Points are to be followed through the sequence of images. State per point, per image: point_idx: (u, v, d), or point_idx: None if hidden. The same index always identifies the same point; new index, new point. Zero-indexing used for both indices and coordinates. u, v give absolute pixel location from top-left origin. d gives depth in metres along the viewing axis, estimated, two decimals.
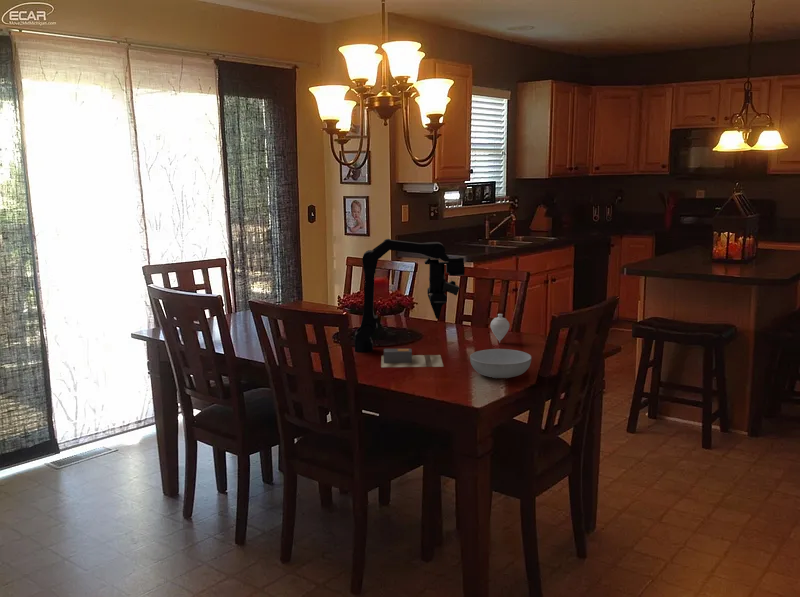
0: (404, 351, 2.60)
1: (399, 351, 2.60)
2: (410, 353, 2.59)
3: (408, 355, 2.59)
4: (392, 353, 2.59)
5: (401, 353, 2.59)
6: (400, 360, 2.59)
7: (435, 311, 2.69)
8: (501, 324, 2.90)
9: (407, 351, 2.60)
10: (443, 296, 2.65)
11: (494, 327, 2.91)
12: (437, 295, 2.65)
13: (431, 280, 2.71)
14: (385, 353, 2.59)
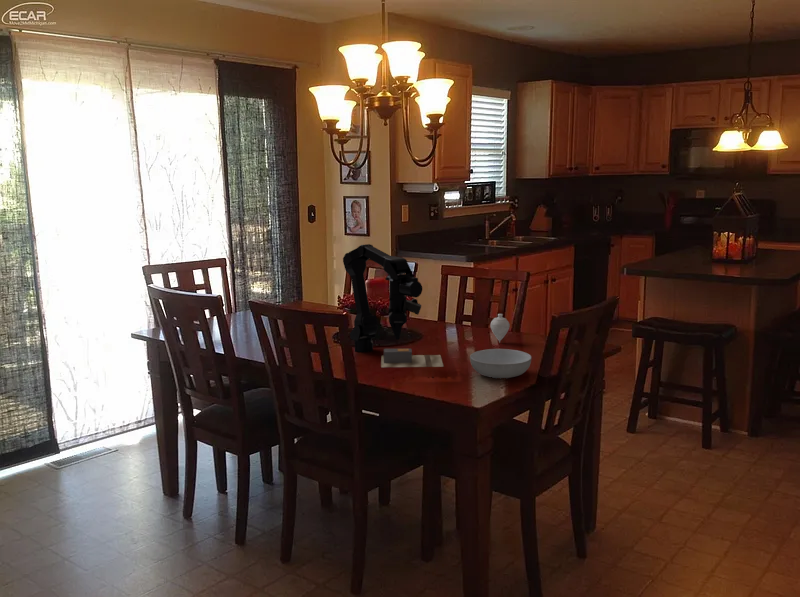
0: (404, 351, 2.60)
1: (399, 351, 2.60)
2: (410, 353, 2.59)
3: (408, 355, 2.59)
4: (392, 353, 2.59)
5: (401, 353, 2.59)
6: (400, 360, 2.59)
7: (395, 331, 2.54)
8: (501, 324, 2.90)
9: (407, 351, 2.60)
10: (403, 316, 2.50)
11: (494, 327, 2.91)
12: (396, 315, 2.50)
13: (391, 298, 2.56)
14: (385, 353, 2.59)
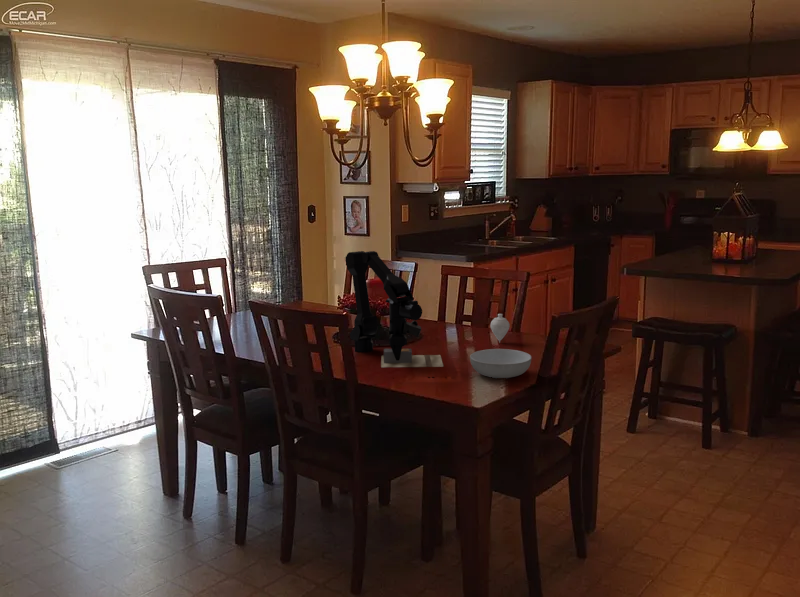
0: (404, 351, 2.60)
1: None
2: (410, 353, 2.59)
3: (408, 355, 2.59)
4: (392, 353, 2.59)
5: (401, 353, 2.59)
6: (400, 360, 2.59)
7: (395, 352, 2.58)
8: (501, 324, 2.90)
9: (407, 351, 2.60)
10: (403, 339, 2.51)
11: (494, 327, 2.91)
12: (396, 338, 2.51)
13: (391, 321, 2.57)
14: (385, 353, 2.59)
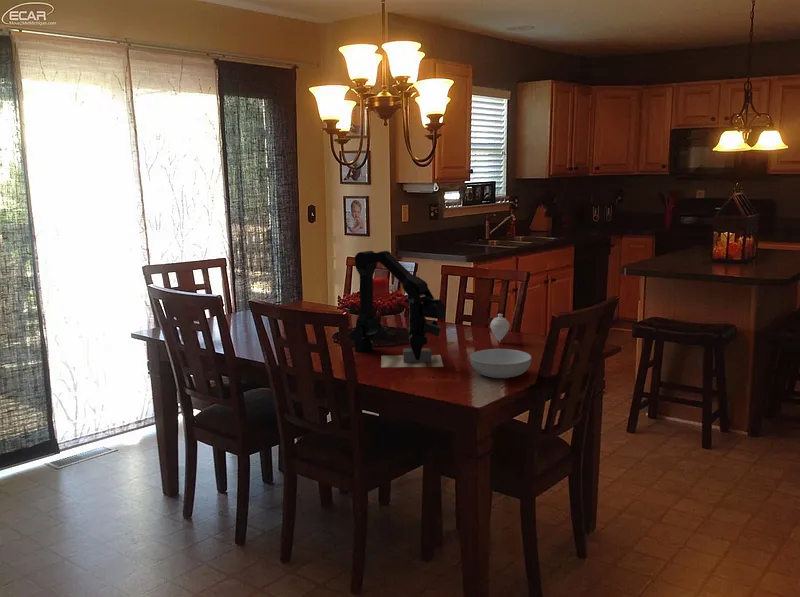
0: (424, 351, 2.60)
1: None
2: (430, 353, 2.59)
3: (428, 355, 2.59)
4: (412, 353, 2.59)
5: (421, 353, 2.59)
6: (420, 359, 2.59)
7: (415, 352, 2.58)
8: (501, 324, 2.90)
9: (427, 351, 2.60)
10: (423, 338, 2.51)
11: (494, 327, 2.91)
12: (417, 337, 2.51)
13: (411, 321, 2.57)
14: (405, 353, 2.59)
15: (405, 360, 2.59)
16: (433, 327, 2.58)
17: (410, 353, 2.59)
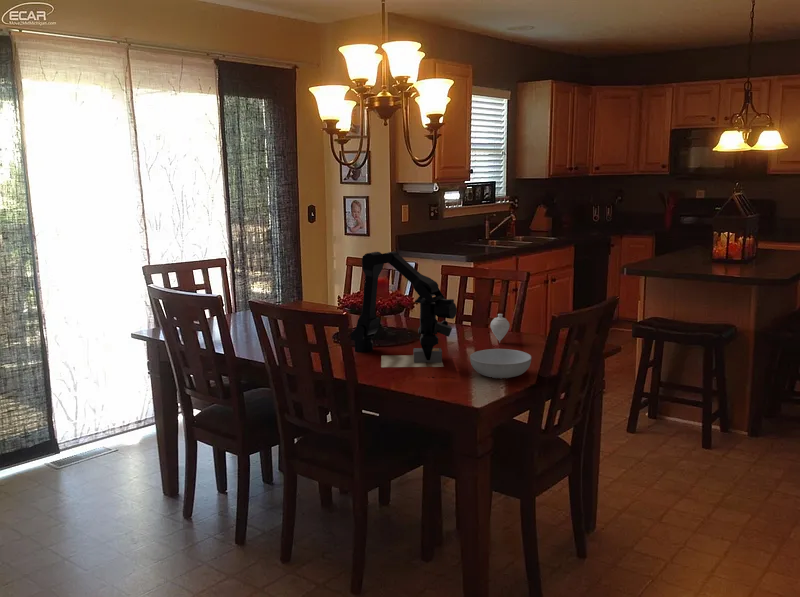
0: (434, 351, 2.60)
1: None
2: (440, 353, 2.59)
3: (438, 355, 2.59)
4: (422, 353, 2.59)
5: (431, 353, 2.59)
6: (430, 359, 2.60)
7: (426, 352, 2.58)
8: (501, 324, 2.90)
9: (437, 351, 2.60)
10: (434, 338, 2.51)
11: (494, 327, 2.91)
12: (428, 337, 2.51)
13: (422, 321, 2.57)
14: (415, 352, 2.59)
15: (415, 360, 2.60)
16: (444, 327, 2.58)
17: (421, 353, 2.59)
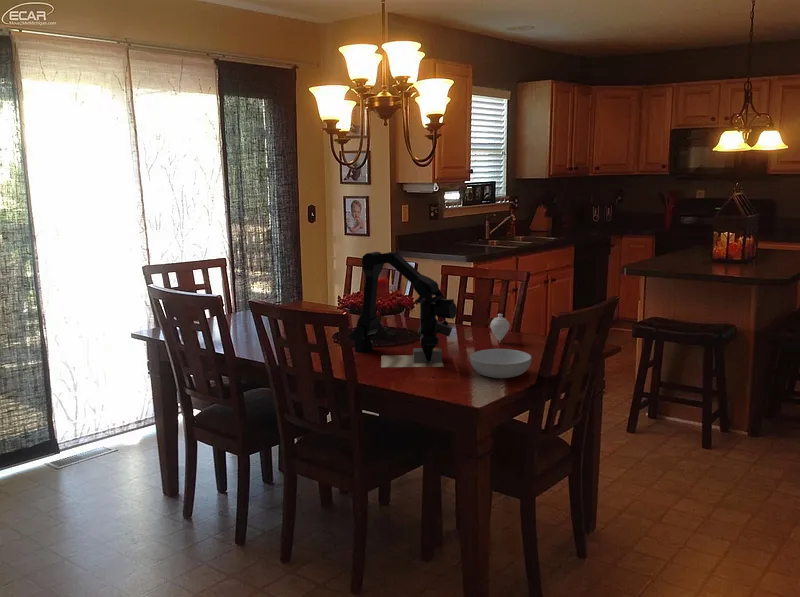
0: (434, 351, 2.60)
1: None
2: (440, 353, 2.59)
3: (438, 355, 2.59)
4: (422, 353, 2.59)
5: None
6: None
7: (426, 353, 2.56)
8: (501, 324, 2.90)
9: (437, 351, 2.60)
10: (434, 338, 2.51)
11: (494, 327, 2.91)
12: (428, 337, 2.51)
13: (422, 321, 2.57)
14: (415, 353, 2.59)
15: (415, 360, 2.60)
16: (444, 327, 2.58)
17: (420, 353, 2.59)
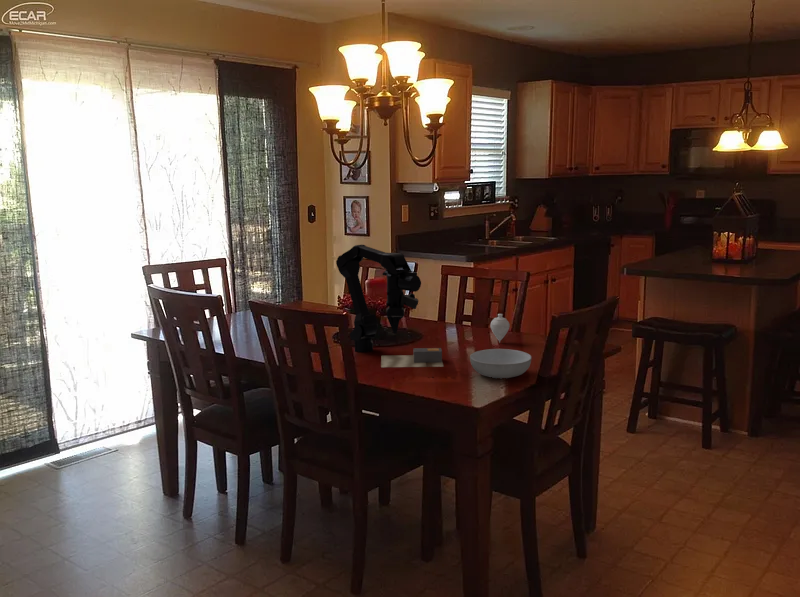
0: (434, 351, 2.60)
1: (429, 351, 2.60)
2: (440, 353, 2.59)
3: (438, 355, 2.59)
4: (422, 353, 2.59)
5: (431, 353, 2.59)
6: (430, 359, 2.60)
7: (392, 325, 2.58)
8: (501, 324, 2.90)
9: (437, 351, 2.60)
10: (400, 310, 2.53)
11: (494, 327, 2.91)
12: (394, 309, 2.53)
13: (388, 293, 2.59)
14: (415, 353, 2.59)
15: (415, 360, 2.60)
16: (410, 300, 2.60)
17: (420, 353, 2.59)
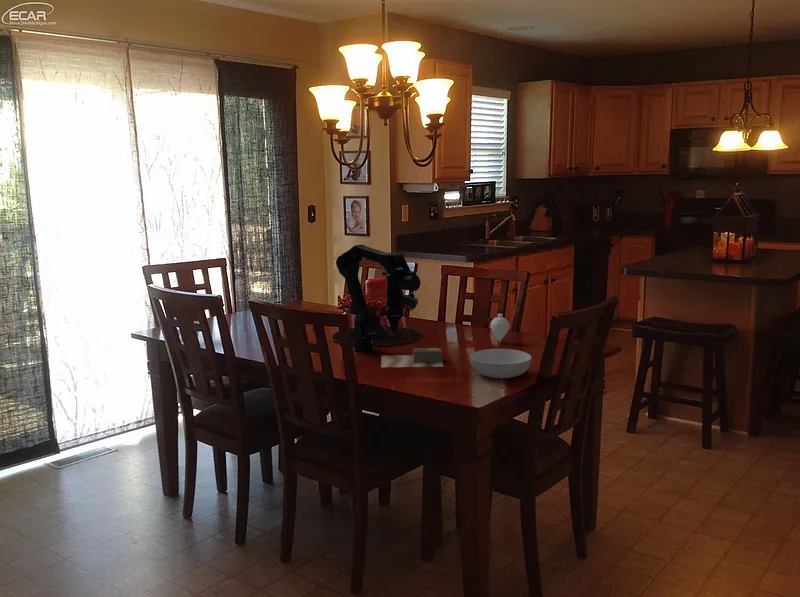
0: (434, 351, 2.60)
1: (429, 351, 2.60)
2: (440, 353, 2.59)
3: (438, 355, 2.59)
4: (422, 353, 2.59)
5: (431, 353, 2.59)
6: (430, 359, 2.60)
7: (392, 325, 2.58)
8: (501, 324, 2.90)
9: (437, 351, 2.60)
10: (399, 310, 2.53)
11: (494, 327, 2.91)
12: (393, 309, 2.53)
13: (388, 293, 2.59)
14: (415, 353, 2.59)
15: (415, 360, 2.60)
16: (410, 299, 2.60)
17: (420, 353, 2.59)
